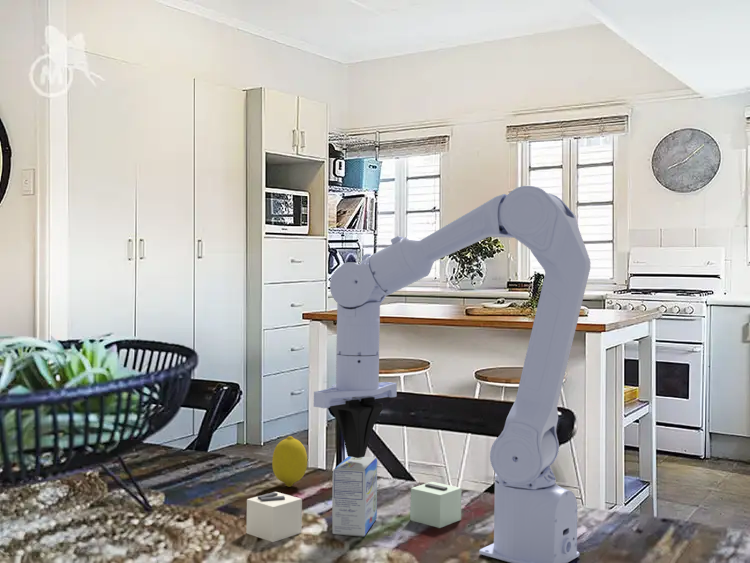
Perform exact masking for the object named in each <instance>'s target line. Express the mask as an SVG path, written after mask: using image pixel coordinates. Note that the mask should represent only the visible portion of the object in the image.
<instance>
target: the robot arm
mask: <svg viewBox="0 0 750 563" xmlns="http://www.w3.org/2000/svg"><path fill="white" fill-rule="evenodd" d="M578 226H579V225H578V221H577V216H576V215H575V213H573V210H571V209H570V208H569V206H568V204H566V203H565V202H564V200H562V199H561V198H560V197H559V196H557V195H555V194H552V193H548V192H546V191H545V190H544V189H543V188H540V187H539V186H535V185H527V184H526V185H520V186H518V187H516V188H514V189H513V190H511V191H510V192H509V193H507V194H506V193H504V194H500V195H496V196H494V197H493V198H490V200H488V201H486V202H484V203H483V204H481V205H479V206H477V207H475V208H474V209H472V210H470V211H469V212H467V213H466V214H464V215H461V216H460V217H459V218H456V220H453V221H451V222H450V223H448V224H446V225H445V226H443V227H440V228H439V229H437V230H436V231H434V232H433V233H430V234H429V235H428V236H426V237H423V239H419V238H417V237H415V236H411V235H408V236H406V237H404V236H401V235H397V236H395V237H393V238H391V239H390V242H391V244H390V245H388V246H386V247H384V248H382V249H380V250H379V251H377V252H375V253H373V254H371V253H365V254H364V255H362V256H361V262H360V263H357V262H353V261H352V262H351V261H350V262H344V263H342V265H341V266H339V267H338V268H337V269H336V270H335V271H334V272H333V274H332V275H331V278H330V282H329V288H330V291H329V292H330V294H331V297H332V299H333V300H334V301H335V302H336V303H337V304H336V305H337V308H336V310H337V311H336V315H337V316H336V351H335V353H336V358H335V359H336V360H335V361H336V362H335V363H336V364H335V366H336V367H335V370H336V371H335V384H331V386H330V387H328V388H325V389H322V390H316V391H313V407H314V408H320V409H329V408H330V411H331V412H332V414H333V415H334V417H335V419H336V421H337V423H338V426H339V429H340V432H341V434H342V438H343V443H344V447H345V451H346V456H347V457H355V458H361V457H366V456H365V455H366V452H367V449H368V445H369V442H370V437H371V434H372V431H373V429H374V426H375V424H376V422H377V420H378V418H379V416H380V414H381V413H382V412H383V408H384V407H383V406H384V405H383V404H384V403H383V402H379V401H376V399H384V398H397V396H398V395H397V391H398V389H397V386H398V383H397V382H389V381H383V382H382V381H381V382H379V381H380V377H379V376H380V332H381V331H380V329H381V328H380V327H381V318H380V316H381V315H380V314H381V305H382V303H383V301H384V300H385V299H386V297H387V296H390V295H392V294H394V293H396V292H398V291H400V290H402V289H404V288H406V287H408V286H410V285H412V284H414V283H415V282H418V281H421V280H422V279H424V278H426V277H428V276H429V274H431V270H432V267H433V266H434V263H435V262H436V261H438V260H440V259H443V258H445V257H447V256H449V255H451V254H455V253H456V252H458V251H460V250H462V249H465V248H467V247H469V246H472V245H474V244H476V243H479V242H480V241H483V240H485V239H488V238H490V237H491V238H494V237H495V238H511V239H512V238H514V239H516V241H518V242H519V243H521V244H523V245H524V246H525V247H526V248H528V249H529V250H530V252H531V253H532V255H533V256H534V257H535V259H536V261H537V262H538V263H539V265H540V266H541V267H542V269H543V270H544V276H543V277H544V278H543V282H542V286H541V290H540V295H539V299H538V303H537V306H536V311H535V316H534V320H533V323H532V324H533V325H532V329H531V332H530V336H529V337H530V338H529V342H528V345H527V350H526V353H525V354H526V355H525V358H524V362H523V367H522V370H521V375H520V380H519V383H518V386H517V388H518V389H517V393H516V395H515V396H516V397H515V400H514V401H513V405H512V406H511V408H510V410H509V413H508V415H507V417H506V420H505V422H504V427H503V430H502V431H501V433H500V434H499V435H498V437H497V438H496V439H495V440H494V441H493V442H492V445H491V447H490V452H489V460H490V465H491V468H492V470H493V471H494V473H495V474H494V502H493V503H494V506H493V507H494V509H493V510H494V511H493V513H494V514H493V517H494V519H493V542H492V543H491V544H489V545H487V546H484V547H481V548H480V549H479V550H478V552H479V554H480V555H481V556H482V555H483V556H486V557H488V558H489V557H490V558H493V559H497V560H500V561H504V562H507V563H569V562H571V561H573V560H575V559H576V558H578V557H579V556H580V552H579V551H578V501H577V498H576V495H575V493H574V492H573V491H572V490H570V489H566V488H563V487H561V486H559V485H558V484H557V483H556V481H557V477H556V476H555V474H554V472H553V470H552V467H551V465H552V464H554V462H555V461H556V459H557V458H558V455H559V450H560V443H559V439H558V434H557V426H558V421H559V412H558V404H559V400H560V396H561V392H562V388H563V383H564V379H565V376H566V375H565V374H566V371H567V367H568V362H569V358H570V353H571V351H572V345H573V342H574V338H575V333H576V329H577V325H578V321H579V317H580V313H581V309H582V305H583V300H584V296H585V293H586V288H587V282H588V281H589V280H588V279H589V275H590V272H591V271H590V270H591V259H590V257H589V254H588V250H587V248H586V245H585V243H584V240H583V236H582V234H581V231H580V229H579V227H578Z"/></svg>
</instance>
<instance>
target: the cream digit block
mask: <svg viewBox="0 0 750 563" xmlns="http://www.w3.org/2000/svg"><path fill="white" fill-rule="evenodd" d="M302 513H303V498H300V497H296V496H293V495H290V494H286V493H283V492H282V493H281V492H278V491H273V492H270V493H265V494H262V495H257V496H253V497H250V498H247V499H246V528H245V529H246V531H245V532H246V534H247V535H250V536H253V537H256V538H259V539H262V540H265V541H268V542H272V543H275V542H276V541H280V540H281V541H282V540H283V539H286V538H289V537H293V536H295V535H299V534H302V529H303V528H302V524H303V523H302V519H303V518H302V517H303V516H302V515H303V514H302Z"/></svg>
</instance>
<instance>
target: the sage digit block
mask: <svg viewBox="0 0 750 563" xmlns="http://www.w3.org/2000/svg"><path fill="white" fill-rule="evenodd" d="M409 508H410V512H409V513H410V515H409V516H410V517H409V519H410V521H411V522H416V523H420V524H423V525H427V526H431V527H435V528H437V529H441V528H443V527H446V526H449V525H451V524H453V523H456V522H459V521H461V520H462V487H459V486H454V485H449V484H445V483H442V482H441V483H440V482H436V481H429V482H426V483H423V484H420V485H417V486H414V487H411V488H410V506H409Z"/></svg>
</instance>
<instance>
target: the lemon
mask: <svg viewBox="0 0 750 563" xmlns="http://www.w3.org/2000/svg"><path fill="white" fill-rule="evenodd" d="M271 464H272V466H271V467H272V471H273V474H274V476H275V477H276V478H277V480H279V481H280V482H282V483H284V484H285V485H286V486H287V487H292V486H294V484H295V483H297V482H299V481H300V480H302V478H303V477H304V475H305V474H306V471H307V468H308V455H307V450H306V448H305V446H304V445H303V443H302V442H301V441H300V440H299V439H297V438H294V437H293V436H291V435H290V436H287V437H286V438H285V439H282V440H280V441H279V442H278V443H277V444H276V446H275V447H274V450H273V453H272V462H271Z"/></svg>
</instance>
